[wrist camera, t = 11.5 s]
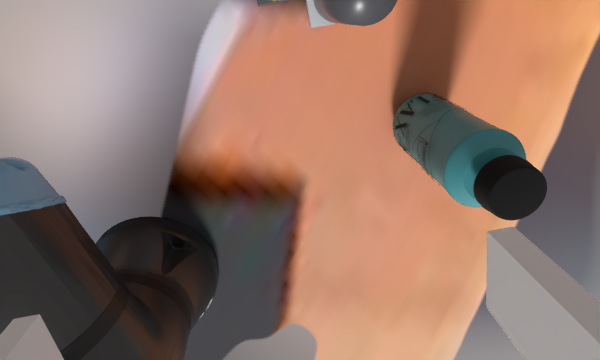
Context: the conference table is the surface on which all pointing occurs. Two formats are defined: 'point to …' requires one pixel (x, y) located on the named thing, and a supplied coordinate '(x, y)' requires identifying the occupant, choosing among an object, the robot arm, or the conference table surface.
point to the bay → (269, 2)
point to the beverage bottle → (469, 157)
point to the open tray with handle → (348, 11)
